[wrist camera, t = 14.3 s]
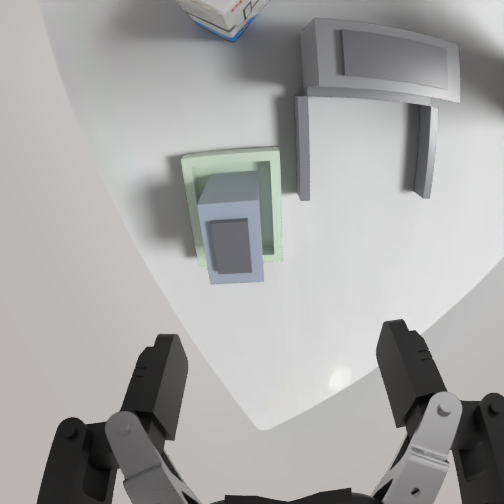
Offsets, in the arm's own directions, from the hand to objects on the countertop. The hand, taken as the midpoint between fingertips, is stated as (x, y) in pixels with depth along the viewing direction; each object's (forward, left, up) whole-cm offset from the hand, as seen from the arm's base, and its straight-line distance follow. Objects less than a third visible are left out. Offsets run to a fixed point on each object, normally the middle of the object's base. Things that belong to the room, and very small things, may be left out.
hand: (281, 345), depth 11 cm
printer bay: (-12, -6, -24) cm, 28 cm away
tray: (+3, +4, -25) cm, 25 cm away
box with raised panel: (+3, +4, -24) cm, 24 cm away
